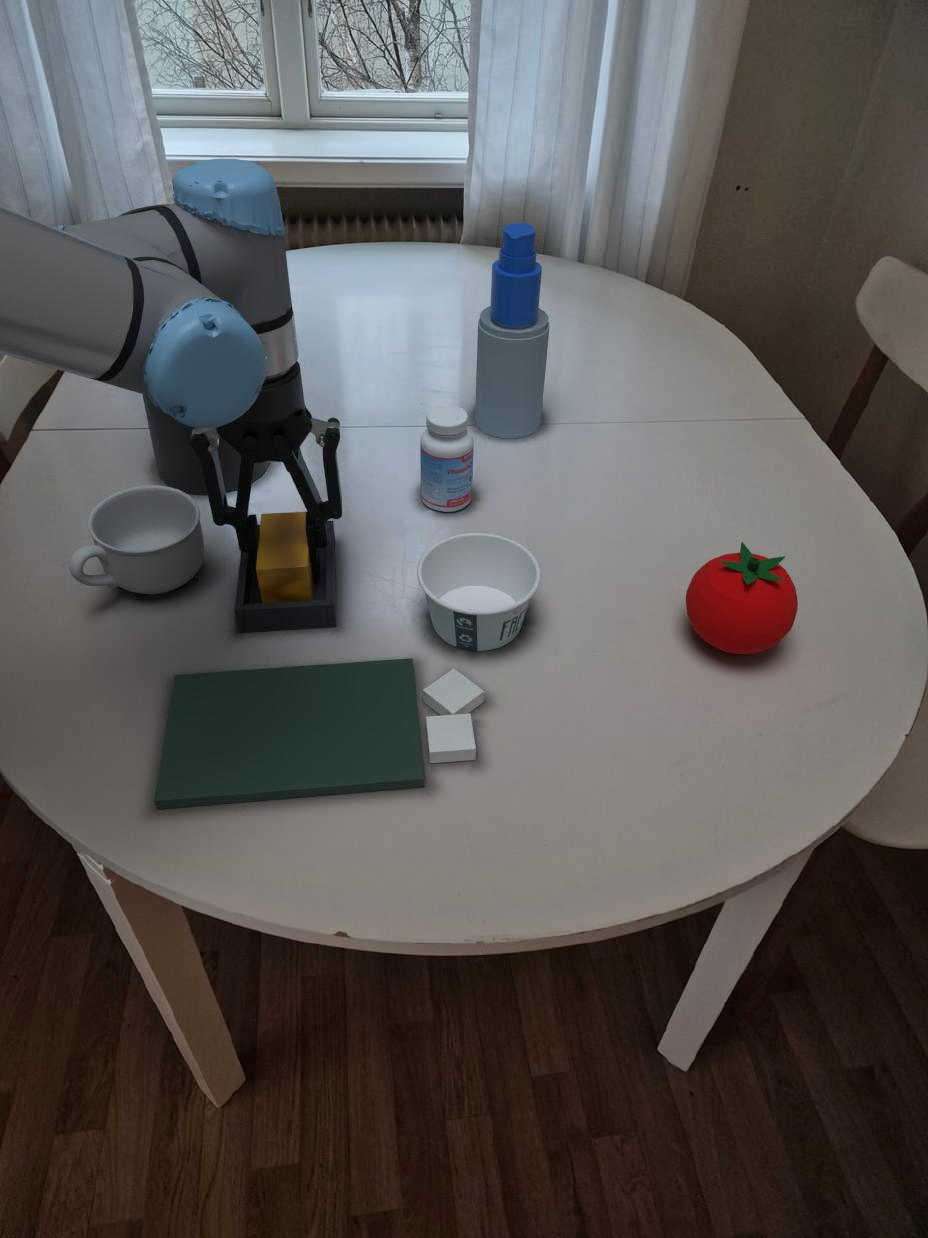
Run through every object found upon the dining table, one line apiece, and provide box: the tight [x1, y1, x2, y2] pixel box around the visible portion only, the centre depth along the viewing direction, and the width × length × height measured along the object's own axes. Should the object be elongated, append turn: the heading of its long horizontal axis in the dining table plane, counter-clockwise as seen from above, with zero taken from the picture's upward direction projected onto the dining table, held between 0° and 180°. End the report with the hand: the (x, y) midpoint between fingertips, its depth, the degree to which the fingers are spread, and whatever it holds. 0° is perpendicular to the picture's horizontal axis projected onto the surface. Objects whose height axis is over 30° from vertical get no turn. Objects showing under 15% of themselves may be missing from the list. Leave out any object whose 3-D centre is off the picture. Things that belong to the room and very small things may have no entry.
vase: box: [117, 203, 271, 496], centre depth 97 cm, size 14×14×29 cm
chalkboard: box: [153, 657, 425, 810], centre depth 76 cm, size 22×14×1 cm, turn 97°
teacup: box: [68, 484, 205, 595], centre depth 88 cm, size 14×11×8 cm
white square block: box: [422, 667, 485, 716], centre depth 79 cm, size 4×4×2 cm
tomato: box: [685, 541, 799, 655], centre depth 83 cm, size 10×10×10 cm
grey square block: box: [425, 712, 477, 764], centre depth 76 cm, size 4×4×2 cm
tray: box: [233, 520, 338, 634], centre depth 90 cm, size 10×14×3 cm
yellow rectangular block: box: [256, 511, 314, 603], centre depth 89 cm, size 5×9×6 cm, turn 6°
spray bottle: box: [474, 222, 550, 440], centre depth 107 cm, size 9×9×25 cm
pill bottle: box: [419, 404, 475, 513], centre depth 99 cm, size 6×6×11 cm
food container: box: [416, 532, 542, 652], centre depth 85 cm, size 12×12×6 cm
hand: (288, 570), depth 90 cm, fingers closed on yellow rectangular block, 5 cm apart
